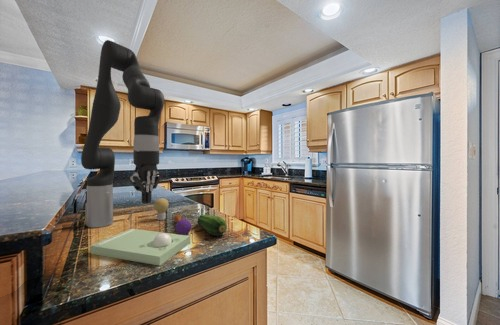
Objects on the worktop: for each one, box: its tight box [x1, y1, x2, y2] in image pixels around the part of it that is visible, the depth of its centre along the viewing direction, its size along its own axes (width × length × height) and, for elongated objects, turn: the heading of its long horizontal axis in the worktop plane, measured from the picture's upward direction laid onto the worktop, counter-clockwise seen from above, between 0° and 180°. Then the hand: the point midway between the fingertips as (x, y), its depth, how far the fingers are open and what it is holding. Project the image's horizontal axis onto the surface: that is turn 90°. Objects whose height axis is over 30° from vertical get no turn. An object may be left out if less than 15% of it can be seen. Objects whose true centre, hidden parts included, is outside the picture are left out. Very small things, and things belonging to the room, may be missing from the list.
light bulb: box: [153, 197, 169, 221], centre depth 102 cm, size 6×6×10 cm
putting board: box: [89, 228, 191, 266], centre depth 71 cm, size 25×16×3 cm, turn 75°
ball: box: [153, 232, 172, 248], centre depth 69 cm, size 6×6×6 cm
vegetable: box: [196, 214, 228, 237], centre depth 88 cm, size 7×7×20 cm
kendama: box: [173, 214, 193, 236], centre depth 90 cm, size 6×6×20 cm
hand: (146, 203), depth 70 cm, fingers closed
